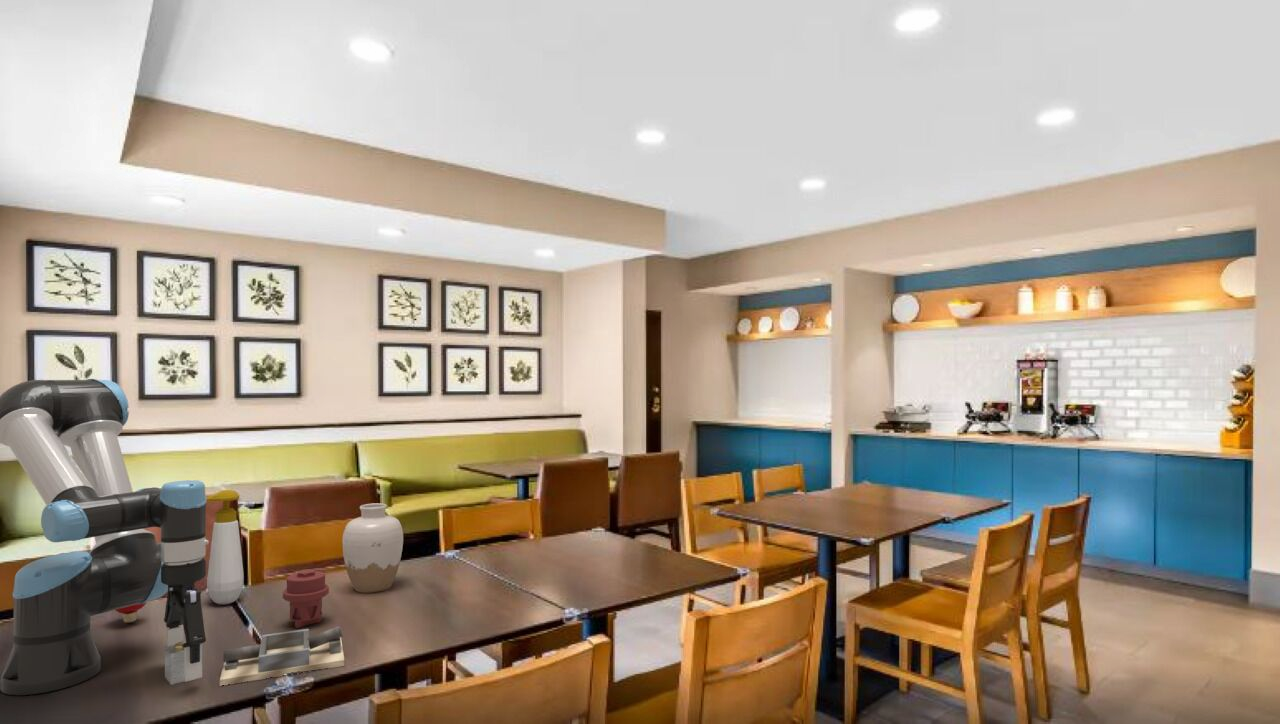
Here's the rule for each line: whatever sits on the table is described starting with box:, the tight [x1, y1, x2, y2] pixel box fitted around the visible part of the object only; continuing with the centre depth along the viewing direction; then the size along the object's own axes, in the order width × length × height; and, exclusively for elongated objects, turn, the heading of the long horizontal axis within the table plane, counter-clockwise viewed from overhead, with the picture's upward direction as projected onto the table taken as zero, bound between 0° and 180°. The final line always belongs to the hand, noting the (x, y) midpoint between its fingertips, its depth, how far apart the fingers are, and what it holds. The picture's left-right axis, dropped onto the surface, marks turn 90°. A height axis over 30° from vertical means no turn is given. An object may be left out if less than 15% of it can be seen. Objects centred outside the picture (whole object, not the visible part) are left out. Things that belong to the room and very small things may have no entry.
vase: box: [342, 502, 404, 594], centre depth 199 cm, size 16×16×23 cm
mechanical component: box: [282, 568, 330, 629], centre depth 171 cm, size 12×10×10 cm
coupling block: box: [164, 640, 186, 686], centre depth 141 cm, size 5×5×7 cm
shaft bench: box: [219, 625, 345, 687], centre depth 147 cm, size 22×14×6 cm, turn 115°
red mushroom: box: [115, 602, 147, 625], centre depth 171 cm, size 9×7×10 cm
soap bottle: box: [206, 489, 245, 606], centre depth 187 cm, size 13×10×29 cm
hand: (184, 669), depth 140 cm, fingers open, 13 cm apart
